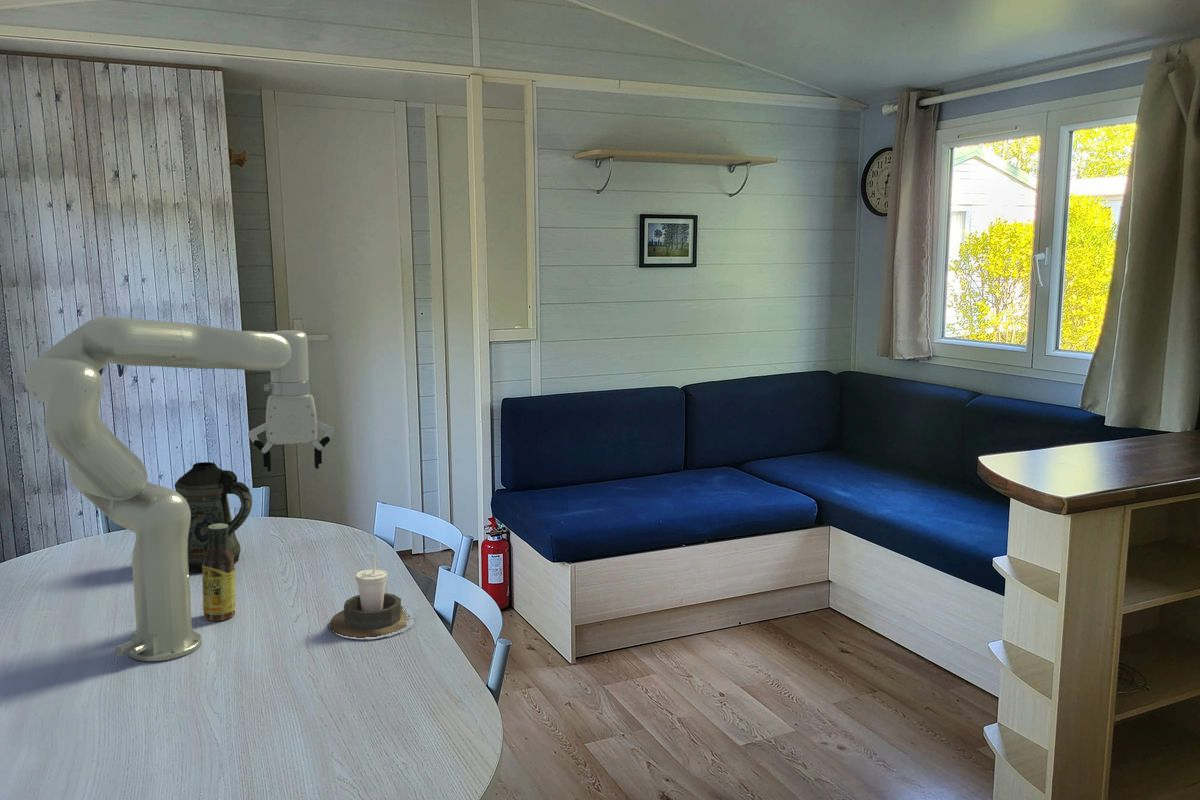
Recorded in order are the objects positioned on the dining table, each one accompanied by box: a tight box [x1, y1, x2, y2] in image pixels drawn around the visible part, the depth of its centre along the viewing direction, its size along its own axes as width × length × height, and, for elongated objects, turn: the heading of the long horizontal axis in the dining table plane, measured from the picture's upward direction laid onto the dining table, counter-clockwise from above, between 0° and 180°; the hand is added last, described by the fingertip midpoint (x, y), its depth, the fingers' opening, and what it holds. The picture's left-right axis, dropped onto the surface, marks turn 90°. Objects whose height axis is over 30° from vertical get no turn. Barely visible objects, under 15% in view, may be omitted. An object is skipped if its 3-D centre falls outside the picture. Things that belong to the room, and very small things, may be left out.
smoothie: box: [355, 553, 388, 611], centre depth 183 cm, size 6×6×14 cm
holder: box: [329, 592, 414, 638], centre depth 184 cm, size 17×17×4 cm
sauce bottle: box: [201, 523, 236, 622], centre depth 185 cm, size 6×6×20 cm
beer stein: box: [174, 461, 253, 574], centre depth 219 cm, size 16×19×25 cm
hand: (293, 468), depth 190 cm, fingers open, 9 cm apart
